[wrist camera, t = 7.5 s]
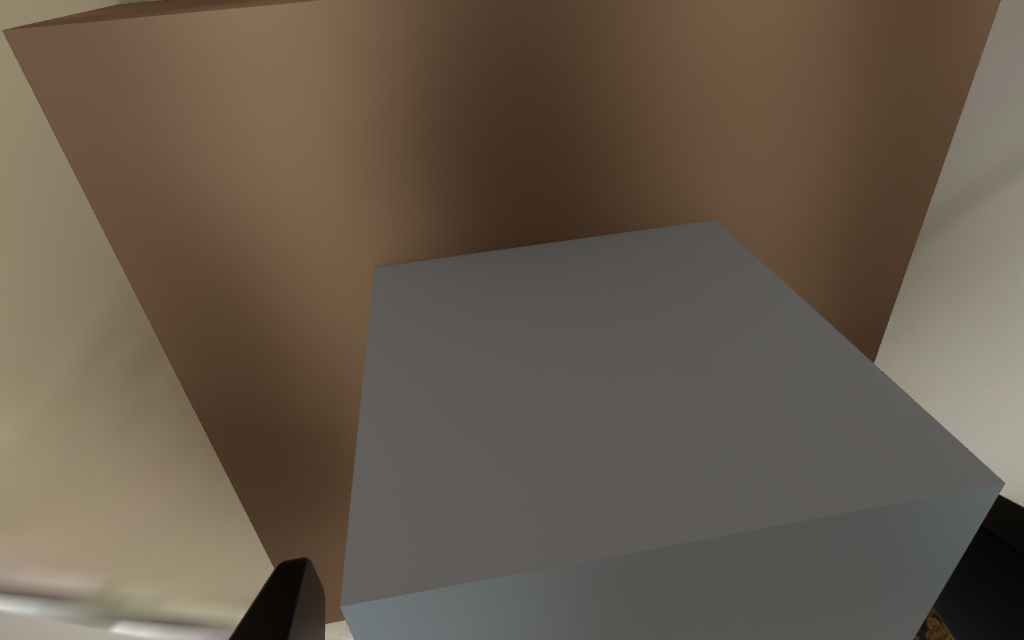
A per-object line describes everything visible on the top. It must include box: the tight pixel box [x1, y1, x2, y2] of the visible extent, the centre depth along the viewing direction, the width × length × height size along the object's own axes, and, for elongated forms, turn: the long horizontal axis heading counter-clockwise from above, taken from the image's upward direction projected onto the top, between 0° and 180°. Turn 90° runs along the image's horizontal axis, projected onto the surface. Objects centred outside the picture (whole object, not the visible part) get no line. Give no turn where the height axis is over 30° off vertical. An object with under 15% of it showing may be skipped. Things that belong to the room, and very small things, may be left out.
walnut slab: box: [2, 0, 1001, 624], centre depth 13 cm, size 14×14×4 cm
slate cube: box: [340, 220, 1005, 640], centre depth 9 cm, size 6×6×6 cm
